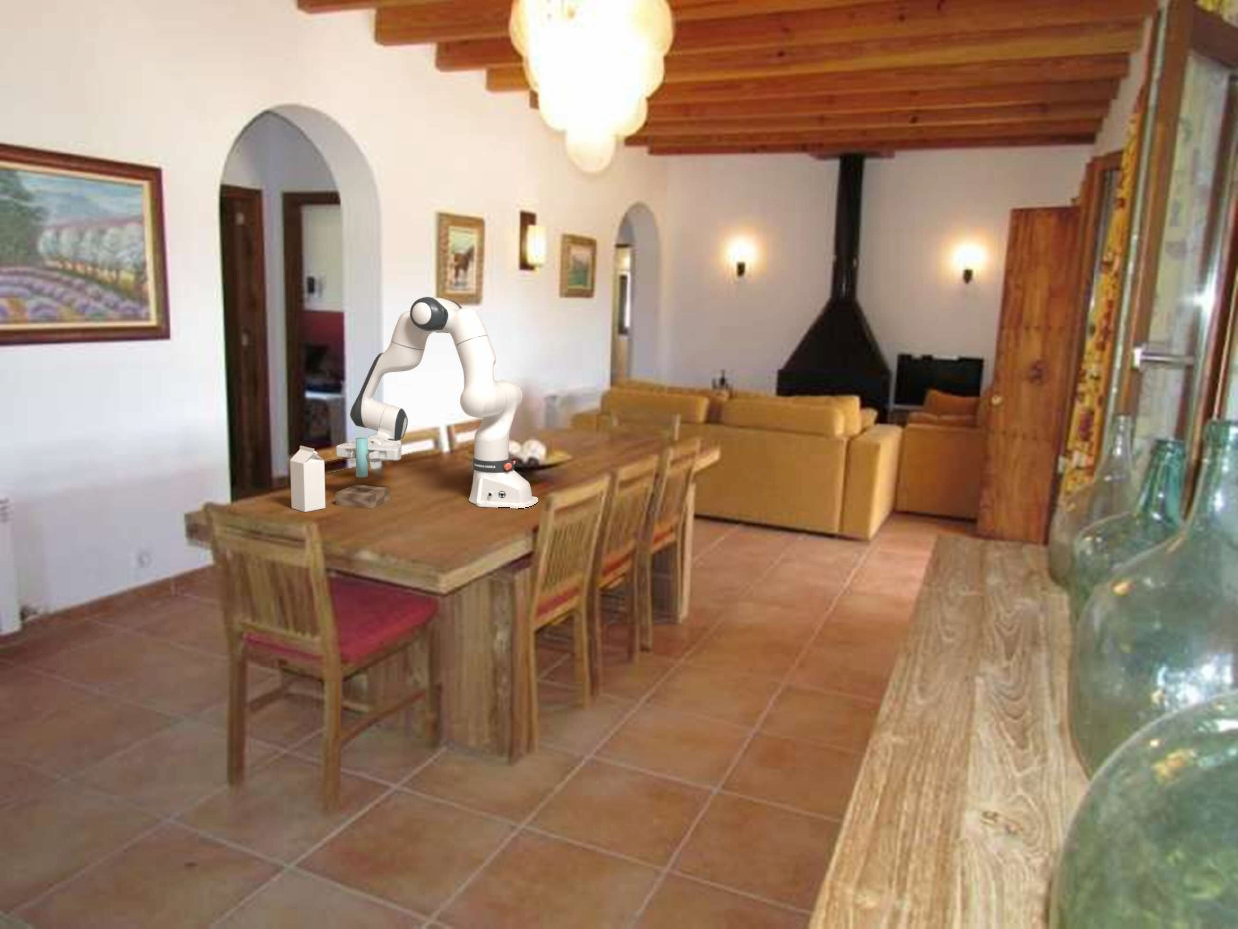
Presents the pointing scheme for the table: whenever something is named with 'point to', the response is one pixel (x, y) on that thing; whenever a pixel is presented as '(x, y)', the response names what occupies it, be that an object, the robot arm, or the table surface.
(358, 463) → the peg
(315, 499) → the milk carton
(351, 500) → the socket block
